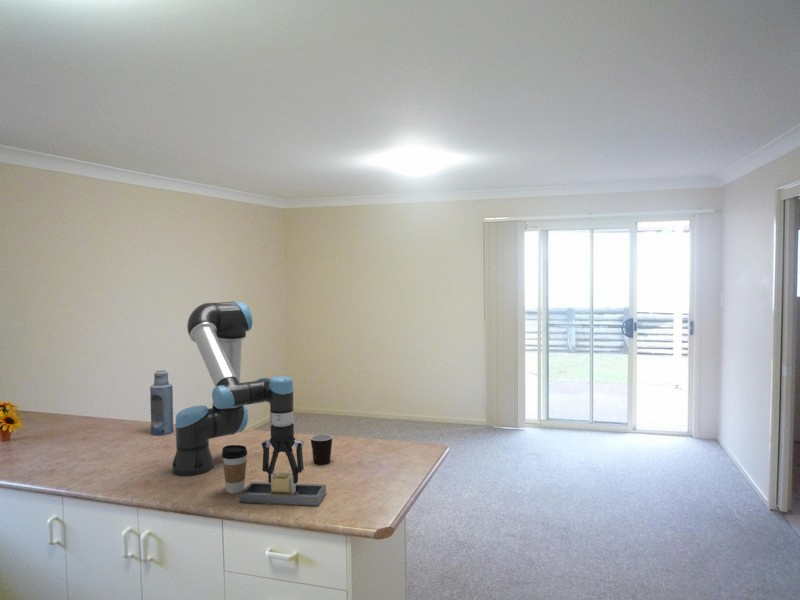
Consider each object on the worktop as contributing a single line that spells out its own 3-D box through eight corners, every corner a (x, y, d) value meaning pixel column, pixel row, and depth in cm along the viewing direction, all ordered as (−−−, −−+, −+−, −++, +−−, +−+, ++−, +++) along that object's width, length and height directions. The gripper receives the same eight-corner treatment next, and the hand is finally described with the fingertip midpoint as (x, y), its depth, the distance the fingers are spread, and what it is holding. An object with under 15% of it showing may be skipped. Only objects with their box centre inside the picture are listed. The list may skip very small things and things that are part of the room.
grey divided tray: (239, 502, 172) (239, 493, 172) (251, 490, 182) (251, 482, 182) (318, 506, 169) (318, 497, 169) (326, 493, 179) (325, 484, 179)
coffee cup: (225, 485, 187) (224, 443, 186) (250, 484, 188) (249, 443, 187) (219, 495, 179) (218, 451, 178) (245, 494, 179) (244, 450, 179)
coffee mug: (328, 466, 205) (328, 441, 204) (307, 465, 206) (307, 440, 206) (338, 456, 216) (337, 432, 216) (318, 455, 218) (317, 431, 217)
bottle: (146, 435, 248) (144, 371, 247) (159, 429, 258) (157, 368, 256) (165, 436, 246) (163, 372, 245) (177, 430, 256) (175, 368, 255)
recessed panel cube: (271, 496, 173) (271, 478, 173) (278, 489, 179) (277, 471, 179) (289, 497, 172) (288, 478, 172) (295, 490, 178) (294, 471, 178)
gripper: (250, 426, 172) (251, 495, 173) (306, 427, 170) (308, 498, 171) (258, 420, 180) (260, 486, 181) (313, 421, 177) (314, 488, 178)
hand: (283, 492), depth 176 cm, fingers closed on recessed panel cube, 6 cm apart
